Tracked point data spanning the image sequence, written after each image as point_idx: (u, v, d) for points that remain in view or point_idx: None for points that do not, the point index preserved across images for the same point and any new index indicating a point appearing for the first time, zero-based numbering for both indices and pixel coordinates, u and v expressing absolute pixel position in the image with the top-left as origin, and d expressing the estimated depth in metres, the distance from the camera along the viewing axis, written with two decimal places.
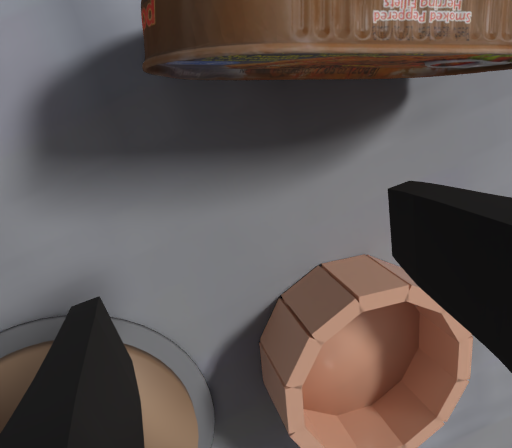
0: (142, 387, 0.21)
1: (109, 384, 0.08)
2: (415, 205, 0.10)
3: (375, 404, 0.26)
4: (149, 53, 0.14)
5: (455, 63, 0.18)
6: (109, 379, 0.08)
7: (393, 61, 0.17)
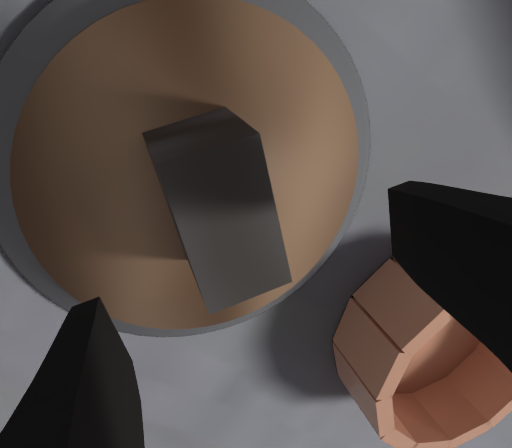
0: (325, 191, 0.17)
1: (110, 384, 0.08)
2: (415, 205, 0.10)
3: None
4: None
5: None
6: (109, 379, 0.08)
7: None
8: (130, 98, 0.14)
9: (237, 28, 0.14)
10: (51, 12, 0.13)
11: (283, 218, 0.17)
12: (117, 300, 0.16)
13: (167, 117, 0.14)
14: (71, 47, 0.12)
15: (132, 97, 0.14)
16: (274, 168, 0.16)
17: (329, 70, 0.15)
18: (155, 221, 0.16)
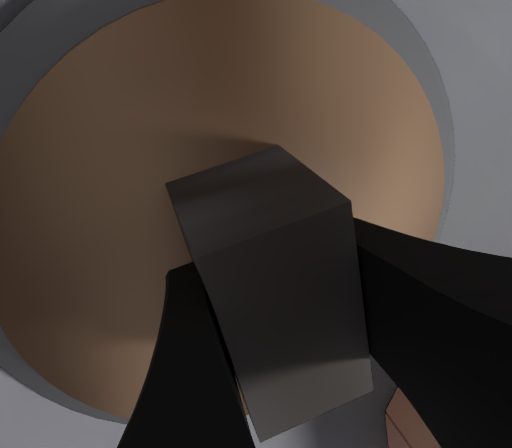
0: None
1: (220, 339, 0.09)
2: None
3: None
4: None
5: None
6: (218, 334, 0.09)
7: None
8: (149, 137, 0.10)
9: (301, 38, 0.10)
10: (36, 14, 0.09)
11: None
12: (128, 395, 0.12)
13: (199, 160, 0.10)
14: (65, 67, 0.08)
15: (151, 136, 0.10)
16: None
17: (417, 93, 0.11)
18: None
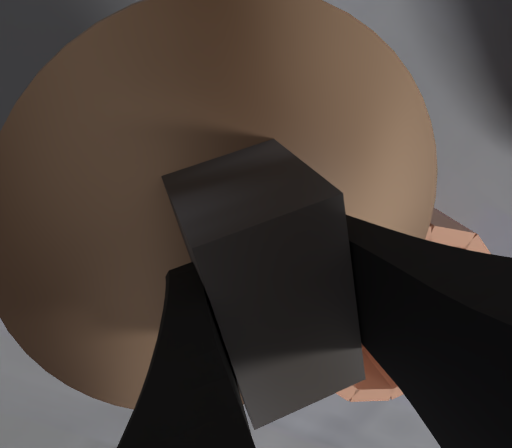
0: None
1: (220, 339, 0.09)
2: None
3: None
4: None
5: None
6: (218, 334, 0.09)
7: None
8: (146, 130, 0.10)
9: (295, 33, 0.10)
10: None
11: None
12: (125, 385, 0.13)
13: (196, 153, 0.10)
14: (62, 60, 0.09)
15: (148, 130, 0.10)
16: None
17: (410, 88, 0.11)
18: None
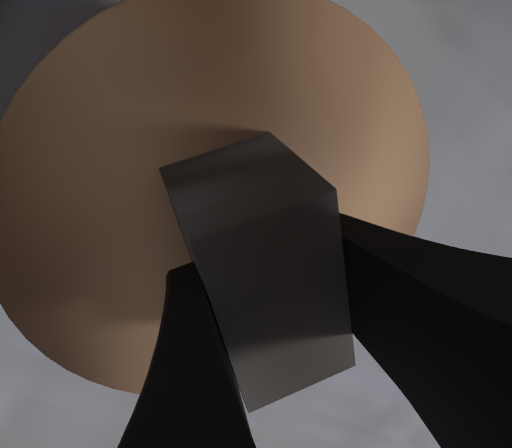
0: None
1: (220, 339, 0.09)
2: None
3: None
4: None
5: None
6: (218, 334, 0.09)
7: None
8: (144, 123, 0.10)
9: (292, 28, 0.10)
10: None
11: None
12: (123, 369, 0.13)
13: (192, 146, 0.10)
14: (61, 54, 0.09)
15: (146, 122, 0.10)
16: None
17: (404, 82, 0.12)
18: None
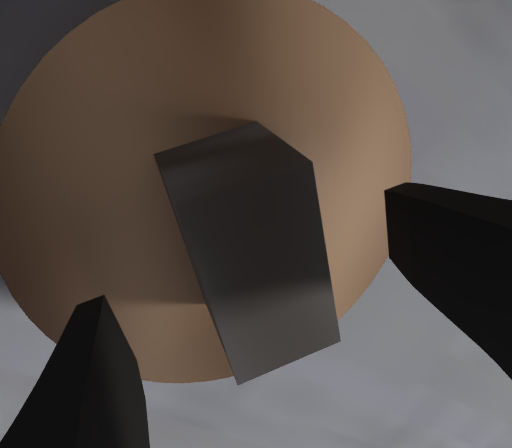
0: (370, 220, 0.14)
1: (115, 381, 0.08)
2: (411, 207, 0.10)
3: None
4: None
5: None
6: (115, 377, 0.08)
7: None
8: (139, 111, 0.11)
9: (275, 24, 0.11)
10: None
11: None
12: None
13: (185, 134, 0.11)
14: (64, 46, 0.10)
15: (141, 111, 0.11)
16: None
17: (383, 76, 0.12)
18: (167, 259, 0.13)
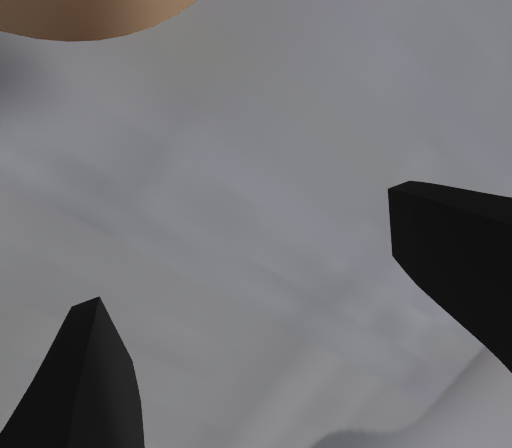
0: None
1: (110, 384, 0.08)
2: (415, 205, 0.10)
3: None
4: None
5: None
6: (109, 379, 0.08)
7: None
8: None
9: None
10: None
11: None
12: None
13: None
14: None
15: None
16: None
17: None
18: None
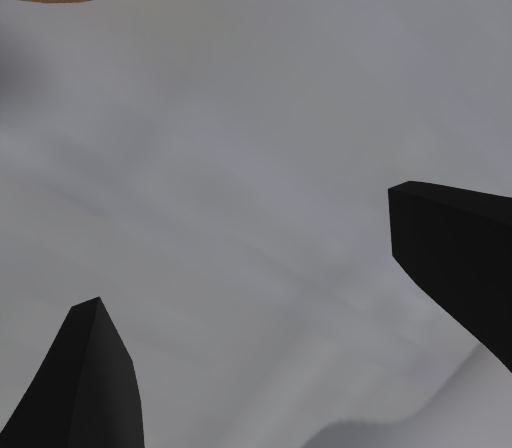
0: None
1: (109, 384, 0.08)
2: (415, 205, 0.10)
3: None
4: None
5: None
6: (109, 379, 0.08)
7: None
8: None
9: None
10: None
11: None
12: None
13: None
14: None
15: None
16: None
17: None
18: None
